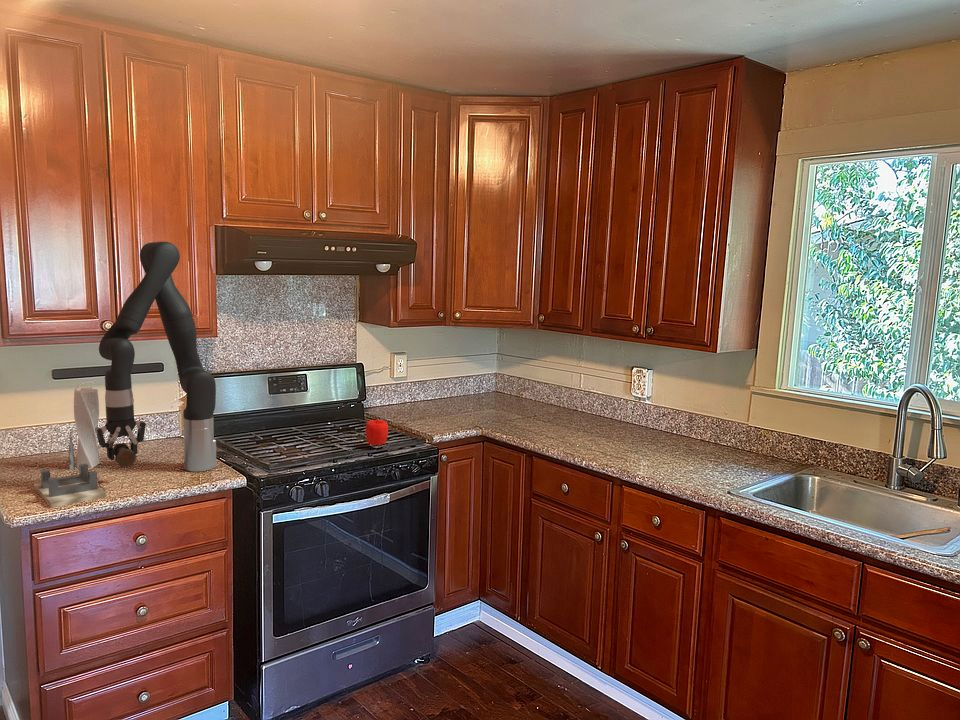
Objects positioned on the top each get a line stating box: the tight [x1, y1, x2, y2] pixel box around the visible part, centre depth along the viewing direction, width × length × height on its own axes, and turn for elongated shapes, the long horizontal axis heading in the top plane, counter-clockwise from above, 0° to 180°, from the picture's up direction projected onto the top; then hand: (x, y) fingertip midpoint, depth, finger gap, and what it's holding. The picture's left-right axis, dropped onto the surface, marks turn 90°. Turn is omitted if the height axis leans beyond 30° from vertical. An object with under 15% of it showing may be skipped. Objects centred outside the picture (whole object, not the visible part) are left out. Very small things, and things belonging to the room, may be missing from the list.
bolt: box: [113, 442, 138, 468], centre depth 213 cm, size 6×5×15 cm
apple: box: [364, 419, 389, 445], centre depth 268 cm, size 9×9×11 cm
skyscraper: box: [67, 381, 101, 471], centre depth 229 cm, size 8×8×28 cm
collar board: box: [33, 482, 107, 508], centre depth 205 cm, size 14×20×2 cm
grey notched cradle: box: [40, 464, 99, 497], centre depth 205 cm, size 12×11×5 cm
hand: (122, 457), depth 214 cm, fingers closed on bolt, 5 cm apart
